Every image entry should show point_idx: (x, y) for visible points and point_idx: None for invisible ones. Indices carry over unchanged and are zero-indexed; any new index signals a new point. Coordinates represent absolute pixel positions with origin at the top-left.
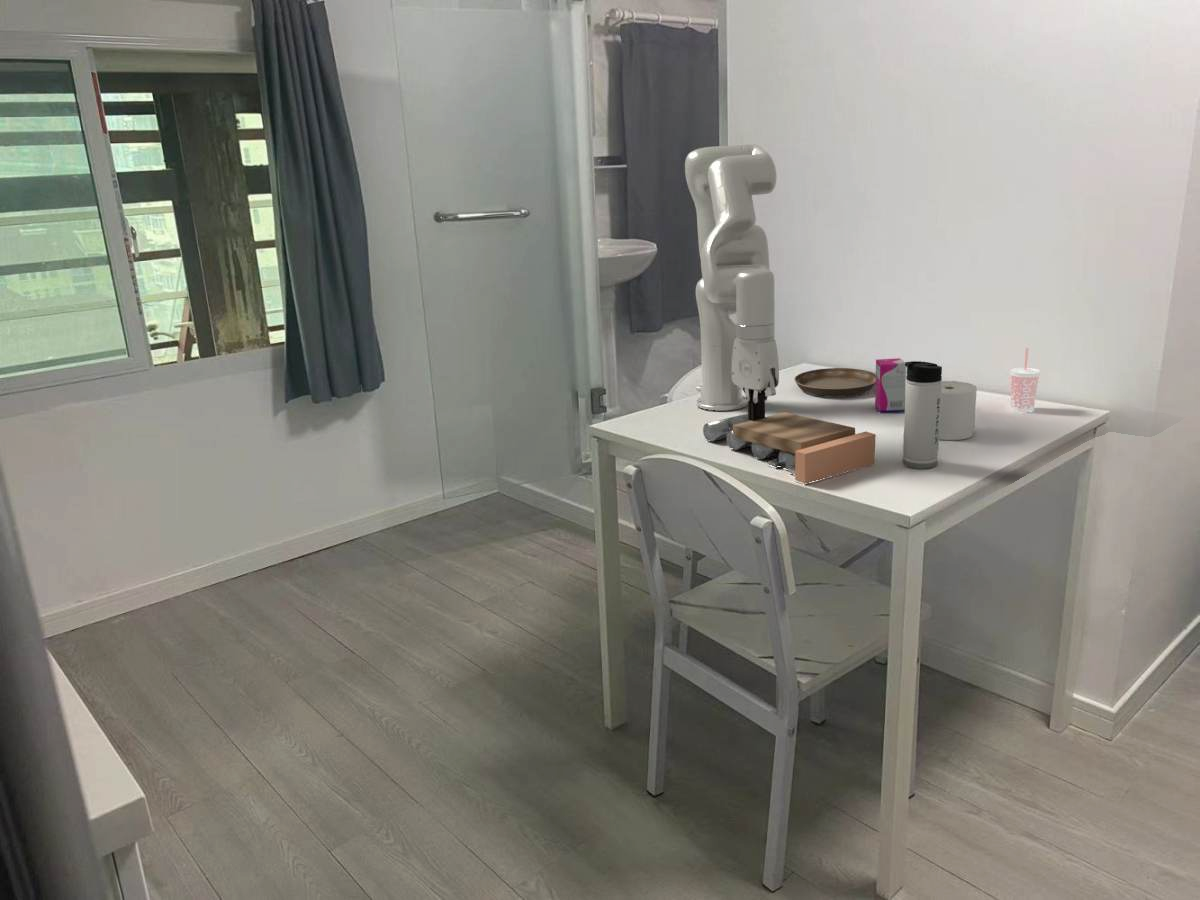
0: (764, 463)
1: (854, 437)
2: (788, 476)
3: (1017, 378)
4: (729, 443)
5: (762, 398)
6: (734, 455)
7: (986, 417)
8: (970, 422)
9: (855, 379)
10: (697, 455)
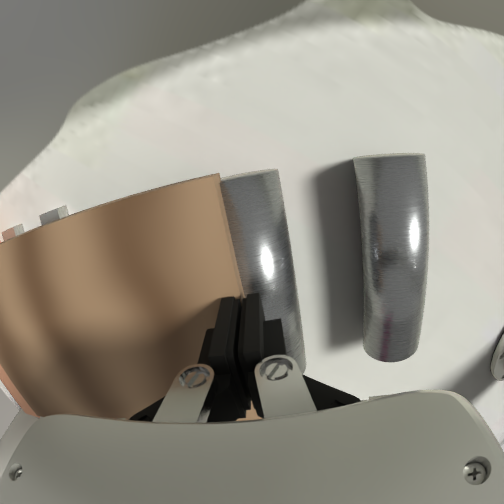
0: (88, 207)
1: (6, 381)
2: (11, 215)
3: None
4: (259, 171)
5: (158, 406)
6: (192, 156)
7: None
8: None
9: None
10: (260, 51)
